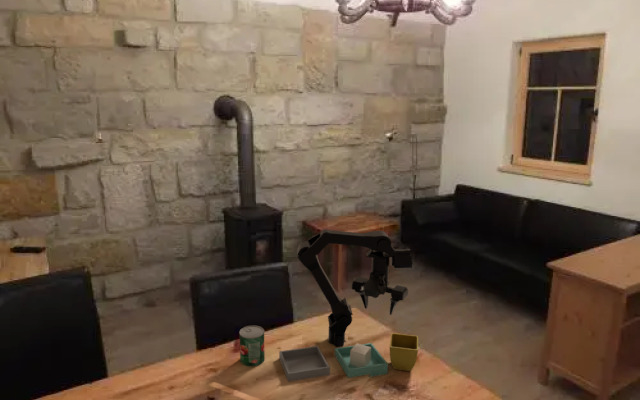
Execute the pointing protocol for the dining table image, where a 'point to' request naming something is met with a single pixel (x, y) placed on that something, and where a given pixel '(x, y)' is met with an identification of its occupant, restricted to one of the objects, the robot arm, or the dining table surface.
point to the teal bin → (373, 368)
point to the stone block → (360, 355)
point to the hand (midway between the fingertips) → (378, 311)
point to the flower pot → (403, 351)
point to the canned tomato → (252, 346)
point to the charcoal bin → (303, 363)
